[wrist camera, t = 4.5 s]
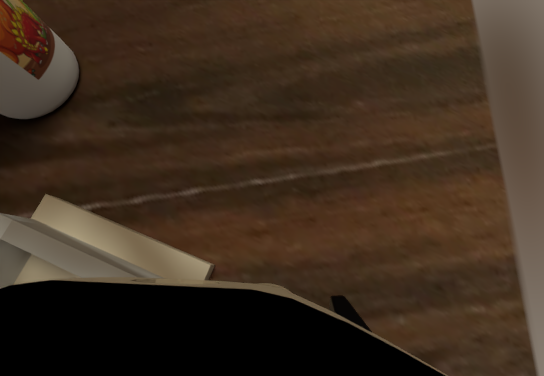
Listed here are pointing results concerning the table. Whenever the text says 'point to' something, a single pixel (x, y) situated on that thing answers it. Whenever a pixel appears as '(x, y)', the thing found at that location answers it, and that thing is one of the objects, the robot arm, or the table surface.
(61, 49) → the milk bottle
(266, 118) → the table surface
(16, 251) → the board
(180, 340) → the handle
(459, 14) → the table surface
